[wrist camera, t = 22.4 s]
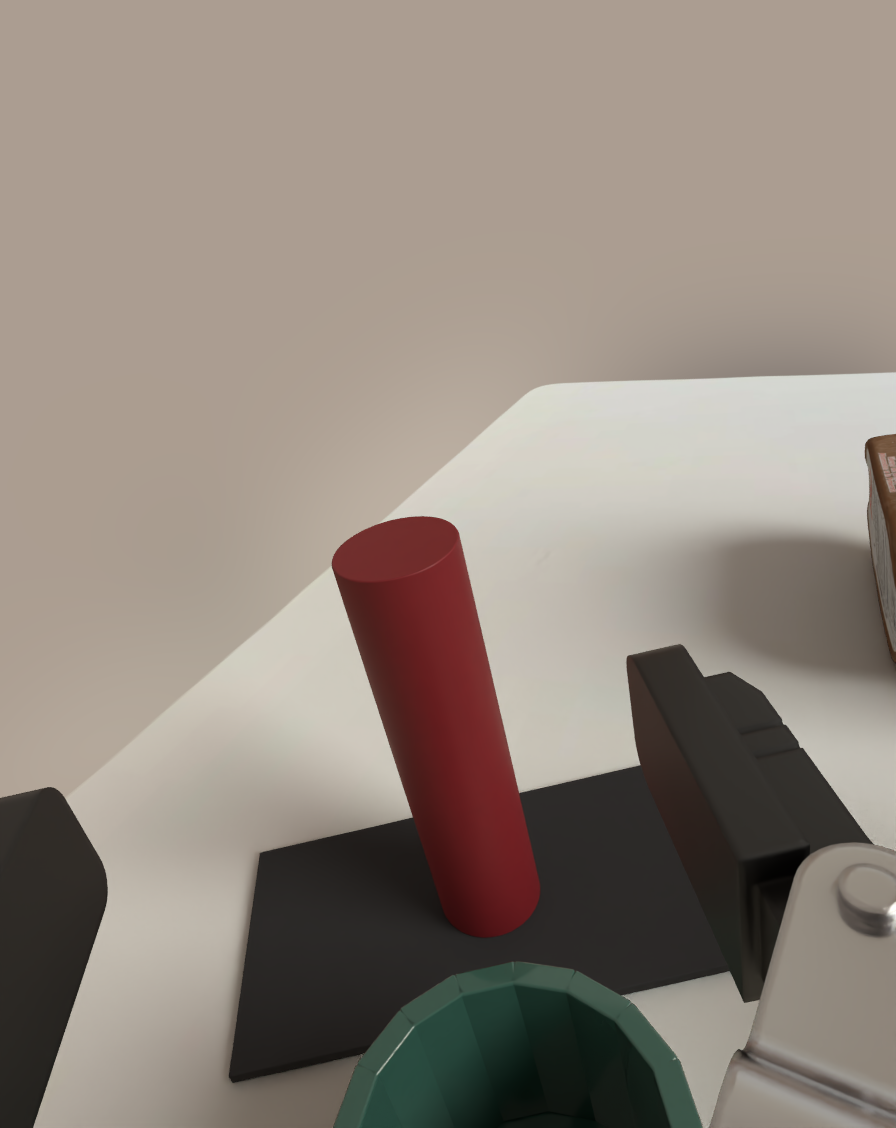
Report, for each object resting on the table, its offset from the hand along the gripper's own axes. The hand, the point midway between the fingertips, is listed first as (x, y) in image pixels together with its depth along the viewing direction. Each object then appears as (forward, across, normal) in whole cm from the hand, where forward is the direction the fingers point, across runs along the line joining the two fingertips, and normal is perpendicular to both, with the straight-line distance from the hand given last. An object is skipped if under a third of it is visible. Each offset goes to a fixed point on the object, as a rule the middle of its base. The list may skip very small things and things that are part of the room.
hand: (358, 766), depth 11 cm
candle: (+14, 0, -19) cm, 24 cm away
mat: (+13, 0, -20) cm, 24 cm away
